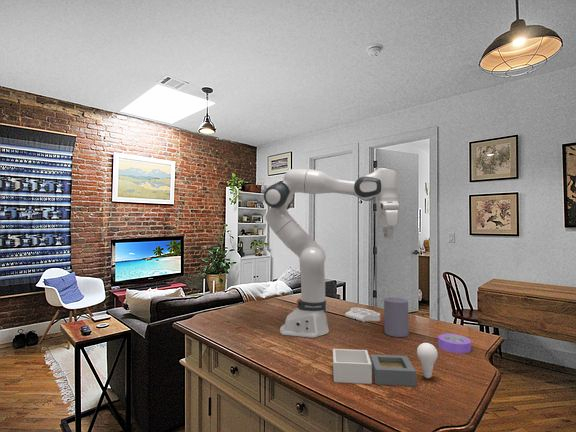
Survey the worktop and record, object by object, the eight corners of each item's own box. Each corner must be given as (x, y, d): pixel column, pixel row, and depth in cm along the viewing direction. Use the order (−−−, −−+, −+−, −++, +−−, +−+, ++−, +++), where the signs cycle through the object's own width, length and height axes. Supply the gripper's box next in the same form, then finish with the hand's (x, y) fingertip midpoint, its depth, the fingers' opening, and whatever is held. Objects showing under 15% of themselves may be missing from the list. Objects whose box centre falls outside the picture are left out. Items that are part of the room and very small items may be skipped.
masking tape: (475, 348, 133) (475, 338, 133) (465, 356, 125) (465, 346, 125) (444, 340, 141) (444, 331, 141) (433, 348, 133) (433, 338, 133)
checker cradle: (375, 384, 103) (375, 369, 103) (370, 367, 115) (370, 354, 115) (416, 386, 102) (416, 371, 102) (406, 369, 114) (406, 355, 114)
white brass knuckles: (340, 316, 179) (359, 312, 188) (367, 324, 164) (385, 319, 173) (340, 310, 179) (358, 306, 188) (367, 317, 164) (385, 312, 173)
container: (410, 338, 144) (409, 303, 144) (385, 336, 146) (385, 302, 146) (406, 330, 154) (406, 297, 154) (383, 329, 156) (383, 297, 156)
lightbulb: (413, 374, 110) (413, 340, 110) (431, 373, 110) (431, 339, 111) (422, 383, 104) (422, 347, 104) (441, 382, 104) (441, 346, 104)
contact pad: (382, 374, 105) (382, 371, 105) (378, 365, 112) (378, 361, 112) (406, 375, 104) (406, 372, 104) (401, 365, 111) (400, 362, 111)
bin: (333, 382, 105) (333, 362, 105) (333, 366, 116) (332, 348, 116) (371, 383, 103) (371, 364, 103) (367, 367, 115) (367, 350, 115)
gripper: (375, 207, 154) (376, 237, 153) (384, 204, 133) (384, 239, 133) (389, 206, 153) (390, 237, 153) (400, 204, 133) (401, 239, 132)
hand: (387, 238), depth 143 cm, fingers open, 8 cm apart
